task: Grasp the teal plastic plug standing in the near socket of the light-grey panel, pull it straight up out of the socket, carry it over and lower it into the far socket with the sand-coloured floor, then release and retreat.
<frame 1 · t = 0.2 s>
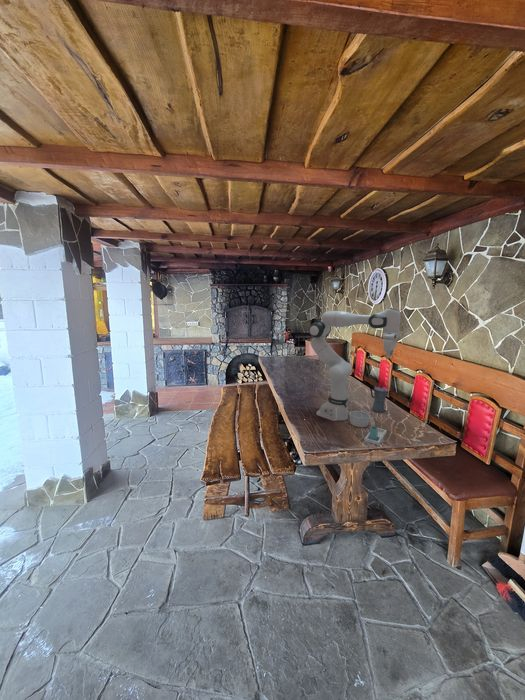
hand: (389, 356, 175), 47 cm above the table, fingers open, 8 cm apart
teal plug: (373, 440, 164), resting on socket panel
ramekin: (358, 424, 188), on the table
socket panel: (375, 437, 169), on the table
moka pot: (377, 410, 213), on the table
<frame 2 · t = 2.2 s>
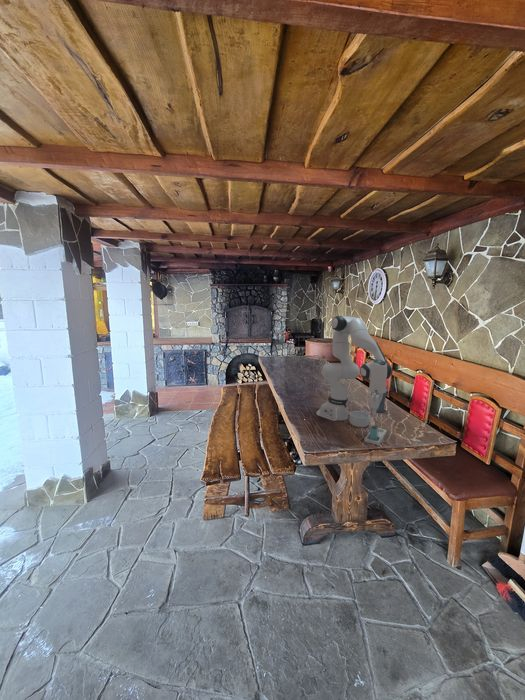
hand: (375, 411, 161), 18 cm above the table, fingers open, 8 cm apart
nothing on the table moved.
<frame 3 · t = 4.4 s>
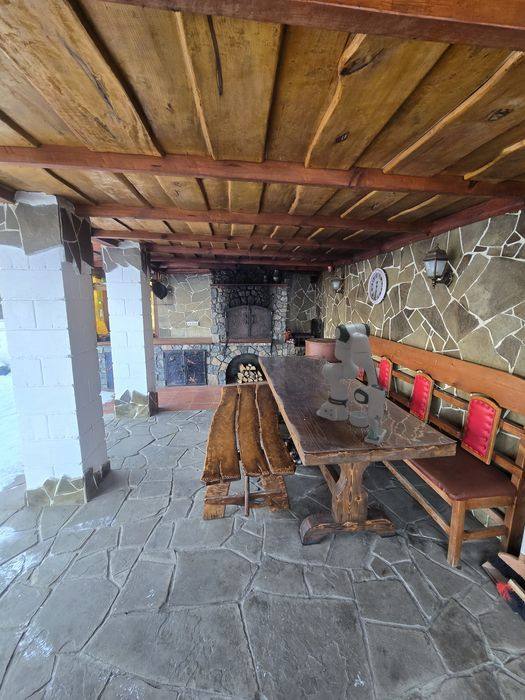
hand: (373, 435, 164), 4 cm above the table, fingers closed on teal plug, 5 cm apart
teal plug: (373, 440, 164), resting on socket panel, touching gripper
everything else where it was.
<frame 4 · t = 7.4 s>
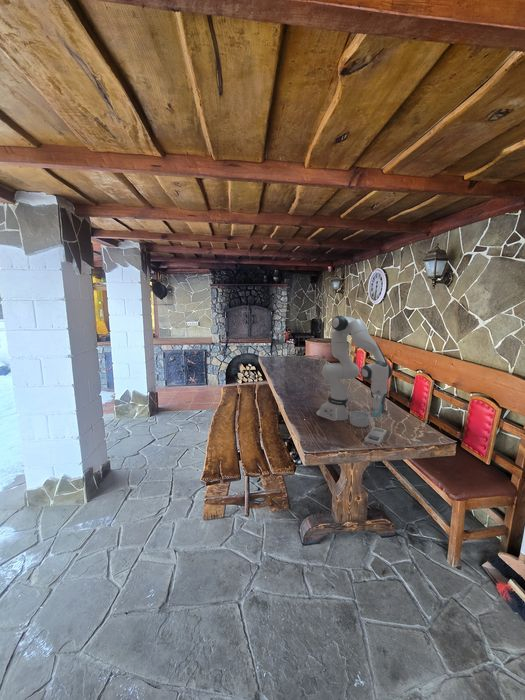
hand: (376, 411, 166), 17 cm above the table, fingers closed on teal plug, 5 cm apart
teal plug: (376, 416, 167), point 13 cm above the table, touching gripper
everything else where it was.
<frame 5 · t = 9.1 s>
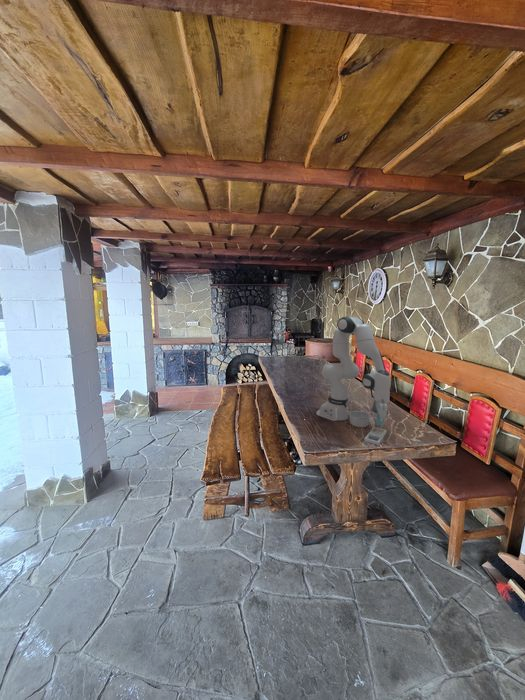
hand: (380, 419, 172), 10 cm above the table, fingers closed on teal plug, 5 cm apart
teal plug: (379, 424, 172), point 6 cm above the table, touching gripper
everything else where it was.
when the fingers open (4 cm above the table, at t = 10.5 s): teal plug stays where it is, resting on socket panel.
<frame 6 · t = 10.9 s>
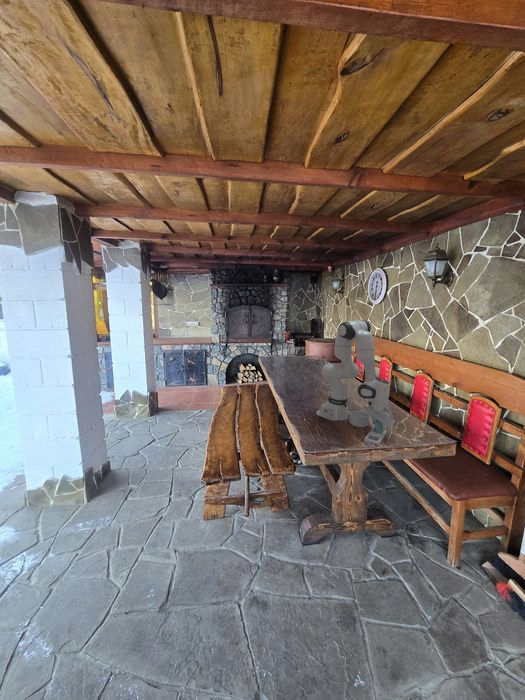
hand: (378, 426, 173), 4 cm above the table, fingers open, 8 cm apart
teal plug: (378, 433, 174), resting on socket panel
everything else where it was.
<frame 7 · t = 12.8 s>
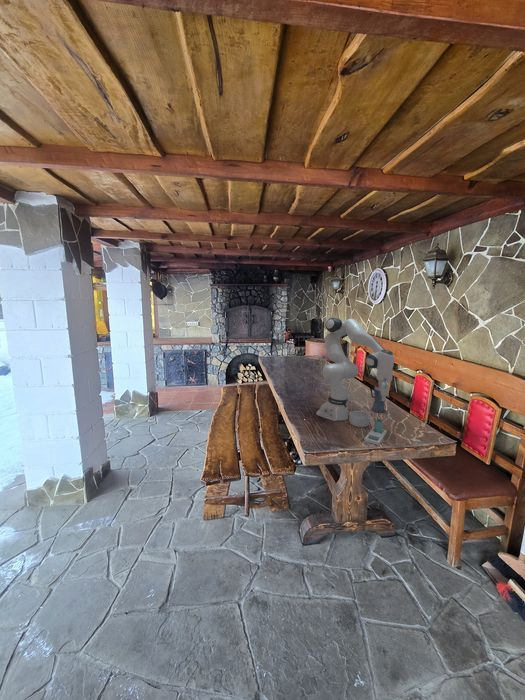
hand: (382, 398, 173), 22 cm above the table, fingers open, 8 cm apart
nothing on the table moved.
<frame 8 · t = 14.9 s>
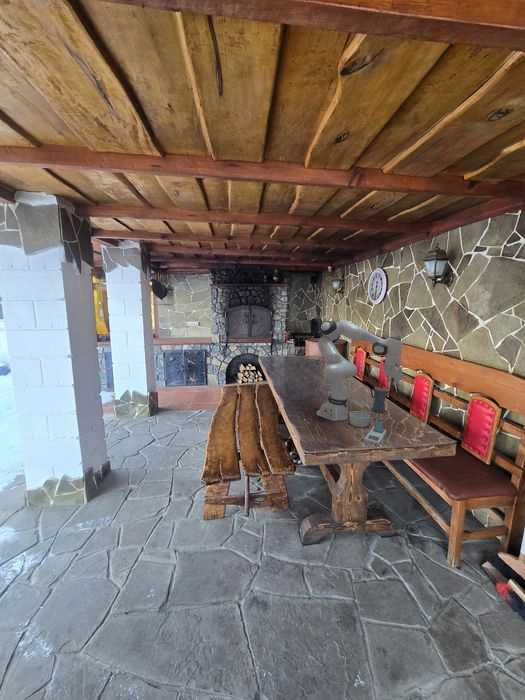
hand: (391, 383, 182), 29 cm above the table, fingers open, 8 cm apart
nothing on the table moved.
at the end: teal plug 0.0 cm from the target spot on the socket panel, point 0.3 cm above the socket panel's base; teal plug tilted 0°; the gripper is holding nothing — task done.
